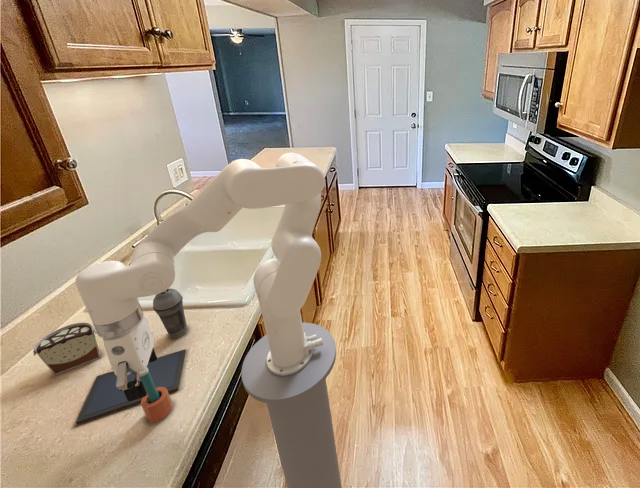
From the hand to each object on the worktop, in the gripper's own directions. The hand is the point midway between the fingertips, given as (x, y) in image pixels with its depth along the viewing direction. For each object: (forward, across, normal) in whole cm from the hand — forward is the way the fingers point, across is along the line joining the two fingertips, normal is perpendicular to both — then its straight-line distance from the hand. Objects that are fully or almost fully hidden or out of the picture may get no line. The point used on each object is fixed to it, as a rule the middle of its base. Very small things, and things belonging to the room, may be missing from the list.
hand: (143, 378), depth 73 cm
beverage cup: (+11, +27, 0) cm, 29 cm away
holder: (+11, 0, 0) cm, 11 cm away
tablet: (+11, +11, +6) cm, 17 cm away
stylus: (+11, 0, 0) cm, 11 cm away
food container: (+12, +28, +24) cm, 38 cm away
